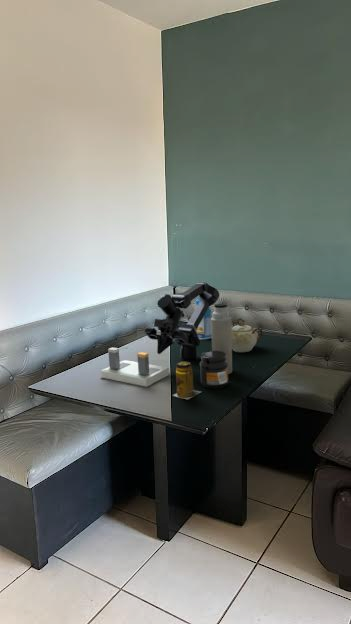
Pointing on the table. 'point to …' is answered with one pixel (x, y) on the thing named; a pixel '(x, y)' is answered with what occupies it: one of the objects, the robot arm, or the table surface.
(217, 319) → the thermos bottle
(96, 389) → the table surface
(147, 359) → the orange-capped grey pillar
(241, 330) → the sugar bowl
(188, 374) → the condiment
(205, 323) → the beverage bottle
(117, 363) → the on handle
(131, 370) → the box
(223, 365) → the supplement container
